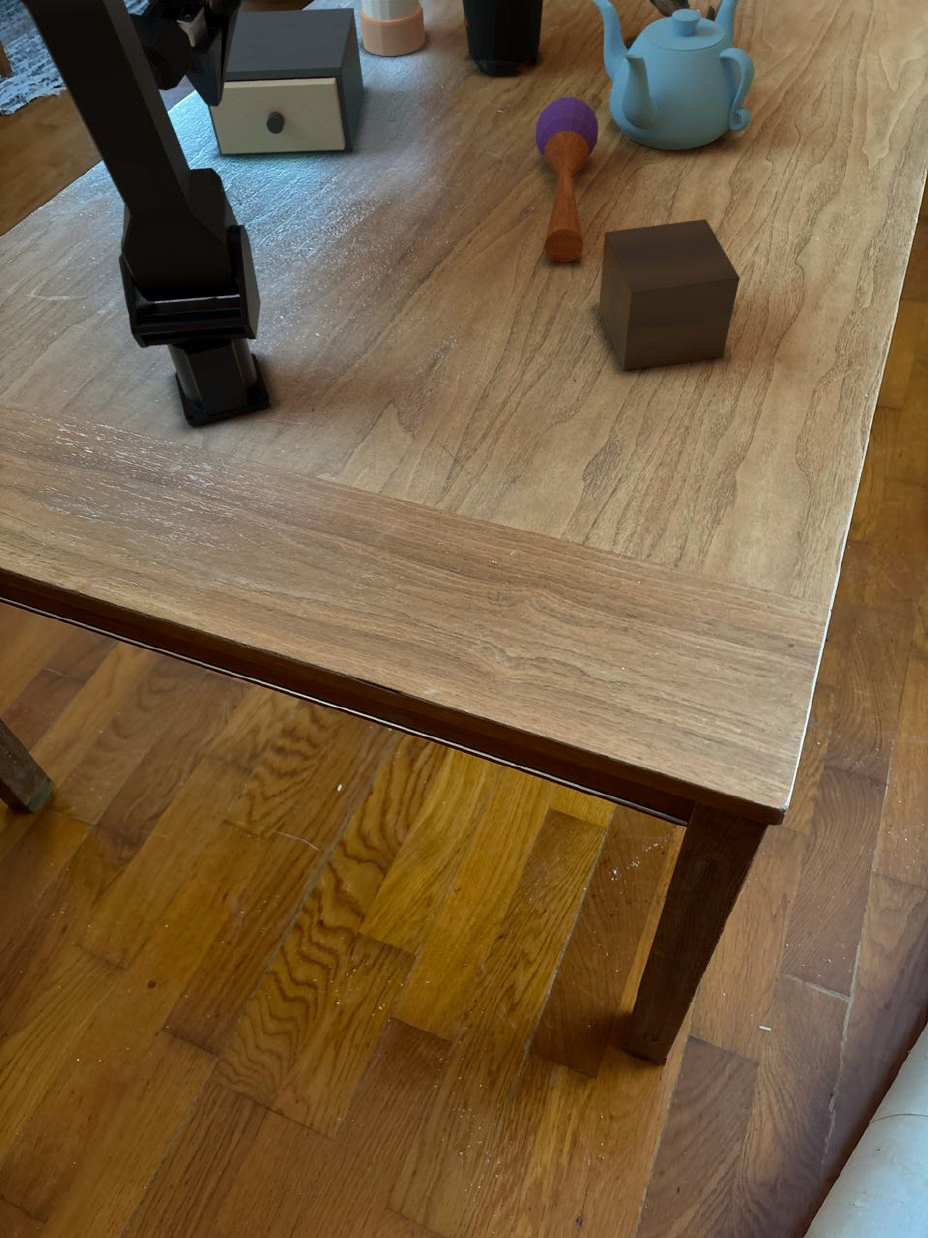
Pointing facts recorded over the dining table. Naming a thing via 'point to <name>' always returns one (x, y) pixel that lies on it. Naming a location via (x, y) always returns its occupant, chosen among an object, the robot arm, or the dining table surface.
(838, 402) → the dining table surface
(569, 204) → the purple maraca
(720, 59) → the teapot
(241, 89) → the drawer
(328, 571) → the dining table surface
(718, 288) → the block stand
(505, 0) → the portable speaker
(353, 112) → the cabinet
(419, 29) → the pepper shaker
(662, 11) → the eagle figurine
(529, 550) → the dining table surface
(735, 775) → the dining table surface
